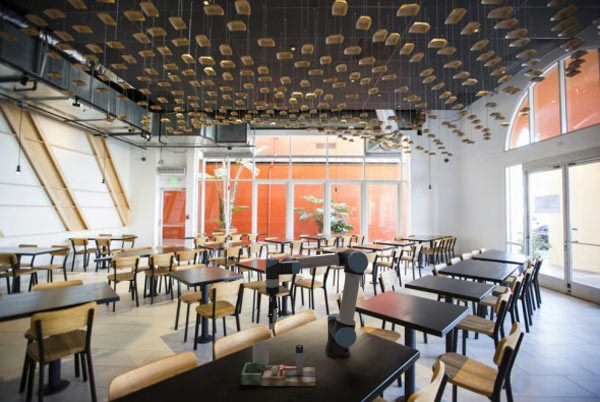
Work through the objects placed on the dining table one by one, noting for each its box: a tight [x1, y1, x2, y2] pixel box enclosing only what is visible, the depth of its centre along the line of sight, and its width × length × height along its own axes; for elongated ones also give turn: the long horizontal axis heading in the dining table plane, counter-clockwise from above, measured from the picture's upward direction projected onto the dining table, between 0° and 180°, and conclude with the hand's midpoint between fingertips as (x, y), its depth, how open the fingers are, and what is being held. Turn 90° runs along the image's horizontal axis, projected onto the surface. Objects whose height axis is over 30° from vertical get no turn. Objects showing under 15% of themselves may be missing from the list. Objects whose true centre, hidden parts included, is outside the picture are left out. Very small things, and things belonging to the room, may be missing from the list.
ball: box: [271, 366, 279, 375], centre depth 152 cm, size 4×4×4 cm
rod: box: [279, 344, 304, 376], centre depth 152 cm, size 12×5×14 cm, turn 89°
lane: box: [240, 361, 317, 387], centre depth 152 cm, size 38×14×5 cm, turn 89°
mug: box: [252, 341, 270, 365], centre depth 168 cm, size 12×9×11 cm
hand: (273, 324), depth 162 cm, fingers open, 13 cm apart
